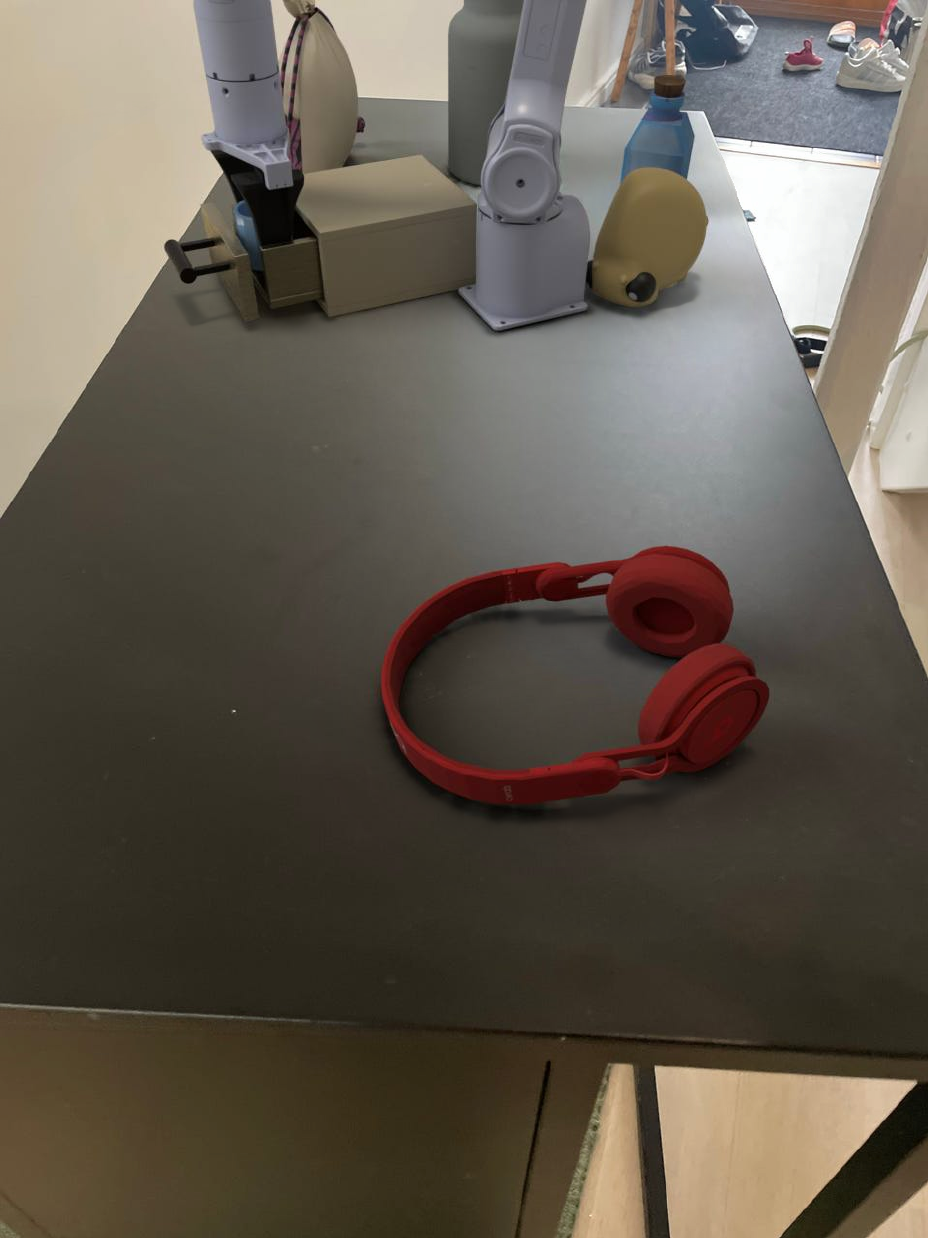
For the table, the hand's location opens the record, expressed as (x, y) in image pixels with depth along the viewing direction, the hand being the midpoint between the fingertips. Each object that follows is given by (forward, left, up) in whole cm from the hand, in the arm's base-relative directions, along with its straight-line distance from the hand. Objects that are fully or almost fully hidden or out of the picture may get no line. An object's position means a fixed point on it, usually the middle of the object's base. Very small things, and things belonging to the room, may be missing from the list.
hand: (267, 242), depth 81 cm
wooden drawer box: (-10, 0, -5) cm, 11 cm away
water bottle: (-31, -18, -5) cm, 36 cm away
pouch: (-13, -22, -5) cm, 26 cm away
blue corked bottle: (-43, -3, -5) cm, 44 cm away
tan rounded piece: (-31, +13, -5) cm, 34 cm away
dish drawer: (0, 0, -4) cm, 4 cm away
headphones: (0, +53, -5) cm, 53 cm away
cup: (0, 0, -1) cm, 1 cm away
